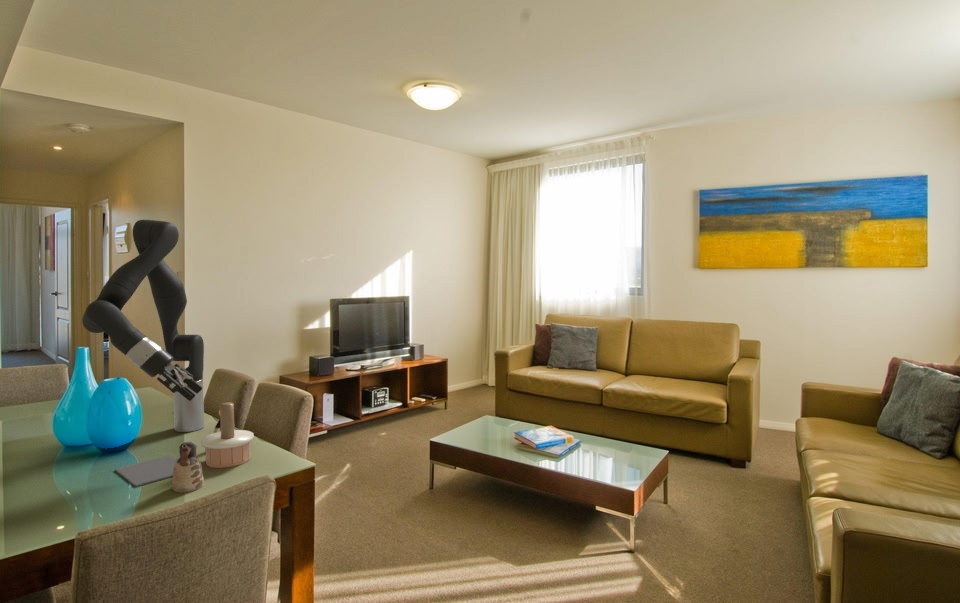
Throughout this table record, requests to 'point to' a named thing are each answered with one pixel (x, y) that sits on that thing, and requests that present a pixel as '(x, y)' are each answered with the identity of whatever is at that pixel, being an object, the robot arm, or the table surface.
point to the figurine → (187, 470)
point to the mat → (148, 471)
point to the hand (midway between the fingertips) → (196, 394)
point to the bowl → (227, 456)
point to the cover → (227, 431)
